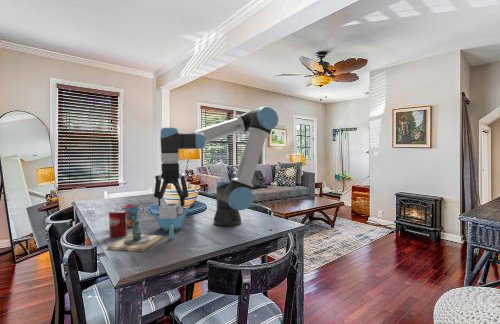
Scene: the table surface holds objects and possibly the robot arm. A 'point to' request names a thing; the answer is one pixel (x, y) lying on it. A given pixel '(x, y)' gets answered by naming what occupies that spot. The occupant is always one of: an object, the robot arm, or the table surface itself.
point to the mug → (132, 213)
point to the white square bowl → (170, 210)
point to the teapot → (170, 221)
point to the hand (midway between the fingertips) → (171, 213)
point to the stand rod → (171, 232)
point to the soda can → (118, 223)
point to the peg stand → (136, 240)
